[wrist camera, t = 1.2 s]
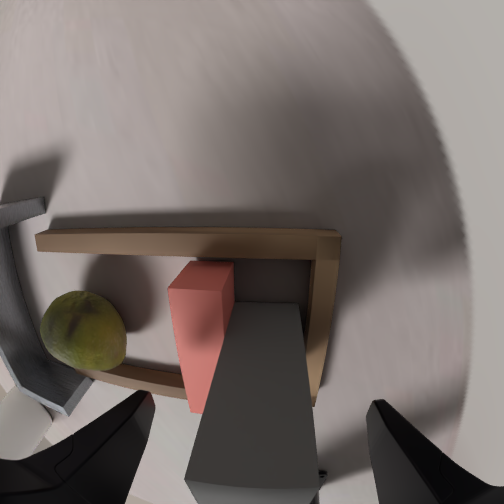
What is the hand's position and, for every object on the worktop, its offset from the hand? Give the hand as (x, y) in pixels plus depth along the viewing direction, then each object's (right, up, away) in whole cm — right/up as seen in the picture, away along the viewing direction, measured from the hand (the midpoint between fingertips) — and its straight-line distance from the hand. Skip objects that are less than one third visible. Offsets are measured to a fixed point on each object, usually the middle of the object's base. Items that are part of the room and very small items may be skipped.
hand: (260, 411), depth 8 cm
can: (-26, -13, +12) cm, 32 cm away
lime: (-9, +2, +6) cm, 11 cm away
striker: (-1, +2, +5) cm, 5 cm away
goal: (-16, +2, +6) cm, 17 cm away
